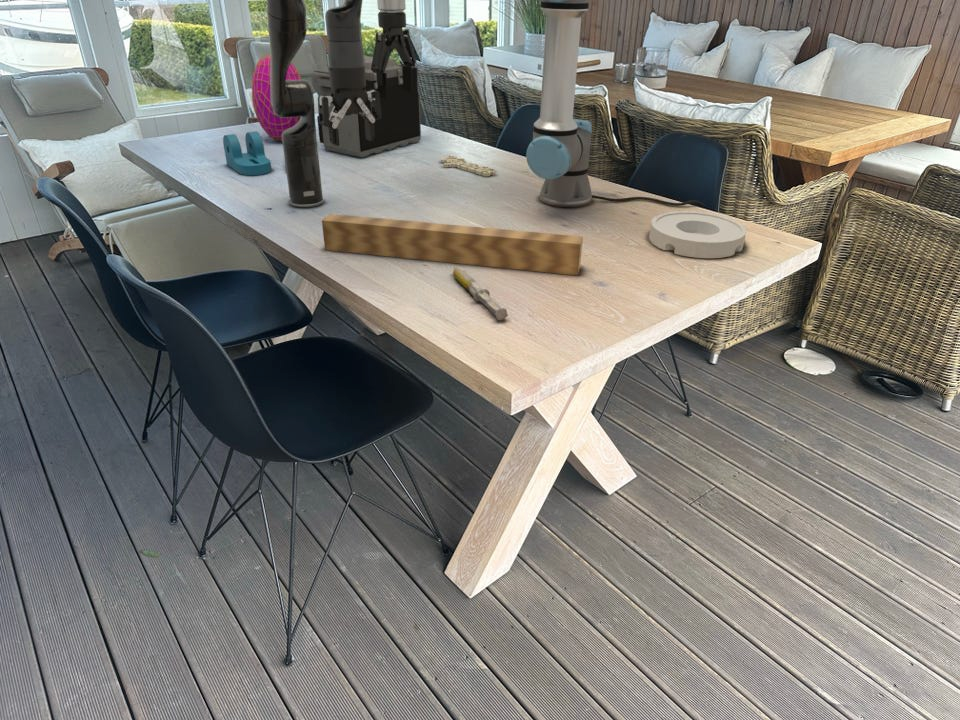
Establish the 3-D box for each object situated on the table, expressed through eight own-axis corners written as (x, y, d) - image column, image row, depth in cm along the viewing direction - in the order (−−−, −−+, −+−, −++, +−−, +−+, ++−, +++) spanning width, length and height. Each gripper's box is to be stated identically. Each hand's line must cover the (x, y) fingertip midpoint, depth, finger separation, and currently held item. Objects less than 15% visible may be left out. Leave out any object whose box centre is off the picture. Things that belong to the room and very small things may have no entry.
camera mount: (227, 164, 233) (221, 132, 227) (257, 160, 238) (252, 129, 233) (244, 176, 220) (239, 143, 215) (276, 172, 225) (271, 139, 220)
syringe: (449, 274, 155) (449, 263, 153) (465, 272, 156) (464, 260, 154) (490, 323, 135) (491, 310, 133) (508, 319, 136) (508, 307, 134)
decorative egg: (293, 132, 276) (283, 50, 261) (319, 140, 264) (310, 56, 249) (249, 139, 265) (236, 54, 250) (273, 148, 253) (261, 60, 238)
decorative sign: (429, 159, 238) (452, 154, 244) (429, 162, 238) (452, 157, 244) (480, 175, 221) (502, 170, 227) (480, 178, 221) (502, 173, 227)
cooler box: (383, 133, 276) (378, 52, 261) (425, 141, 265) (422, 56, 250) (314, 150, 251) (304, 61, 235) (358, 160, 240) (350, 67, 224)
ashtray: (641, 224, 185) (643, 210, 183) (728, 226, 184) (731, 212, 182) (658, 257, 165) (660, 241, 163) (755, 259, 164) (759, 243, 162)
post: (580, 267, 160) (583, 236, 156) (577, 275, 155) (580, 244, 152) (333, 242, 171) (330, 213, 168) (324, 250, 167) (321, 220, 163)
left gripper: (366, 59, 150) (371, 135, 159) (307, 64, 143) (315, 144, 151) (385, 63, 145) (389, 141, 154) (324, 68, 138) (332, 150, 146)
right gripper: (403, 8, 197) (406, 86, 208) (353, 13, 177) (360, 100, 188) (426, 9, 194) (428, 88, 205) (378, 14, 175) (383, 102, 185)
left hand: (352, 142), depth 152 cm, fingers open, 8 cm apart
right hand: (395, 94), depth 196 cm, fingers open, 13 cm apart
